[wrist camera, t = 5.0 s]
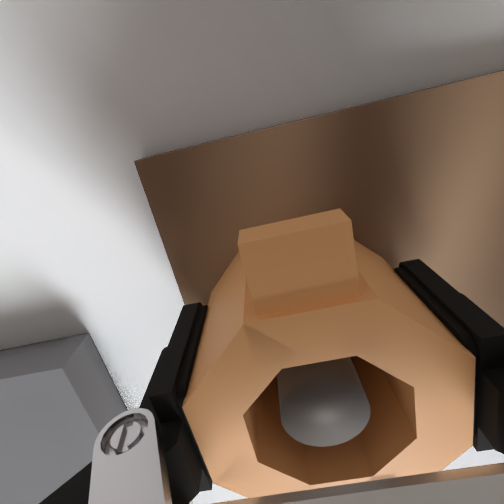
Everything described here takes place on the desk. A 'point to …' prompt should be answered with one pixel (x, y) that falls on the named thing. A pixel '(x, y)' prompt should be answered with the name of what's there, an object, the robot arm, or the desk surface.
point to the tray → (51, 414)
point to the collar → (318, 350)
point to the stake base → (347, 211)
